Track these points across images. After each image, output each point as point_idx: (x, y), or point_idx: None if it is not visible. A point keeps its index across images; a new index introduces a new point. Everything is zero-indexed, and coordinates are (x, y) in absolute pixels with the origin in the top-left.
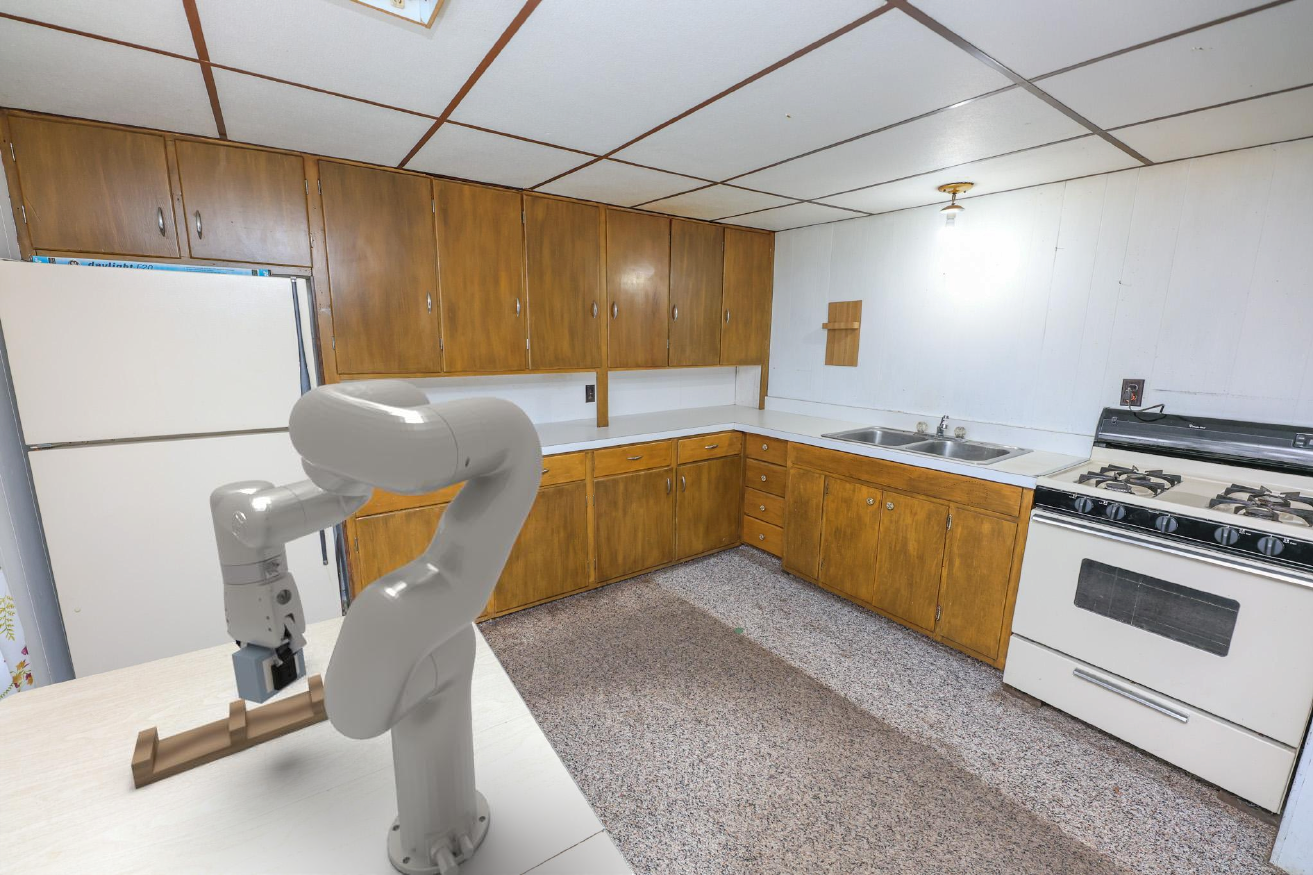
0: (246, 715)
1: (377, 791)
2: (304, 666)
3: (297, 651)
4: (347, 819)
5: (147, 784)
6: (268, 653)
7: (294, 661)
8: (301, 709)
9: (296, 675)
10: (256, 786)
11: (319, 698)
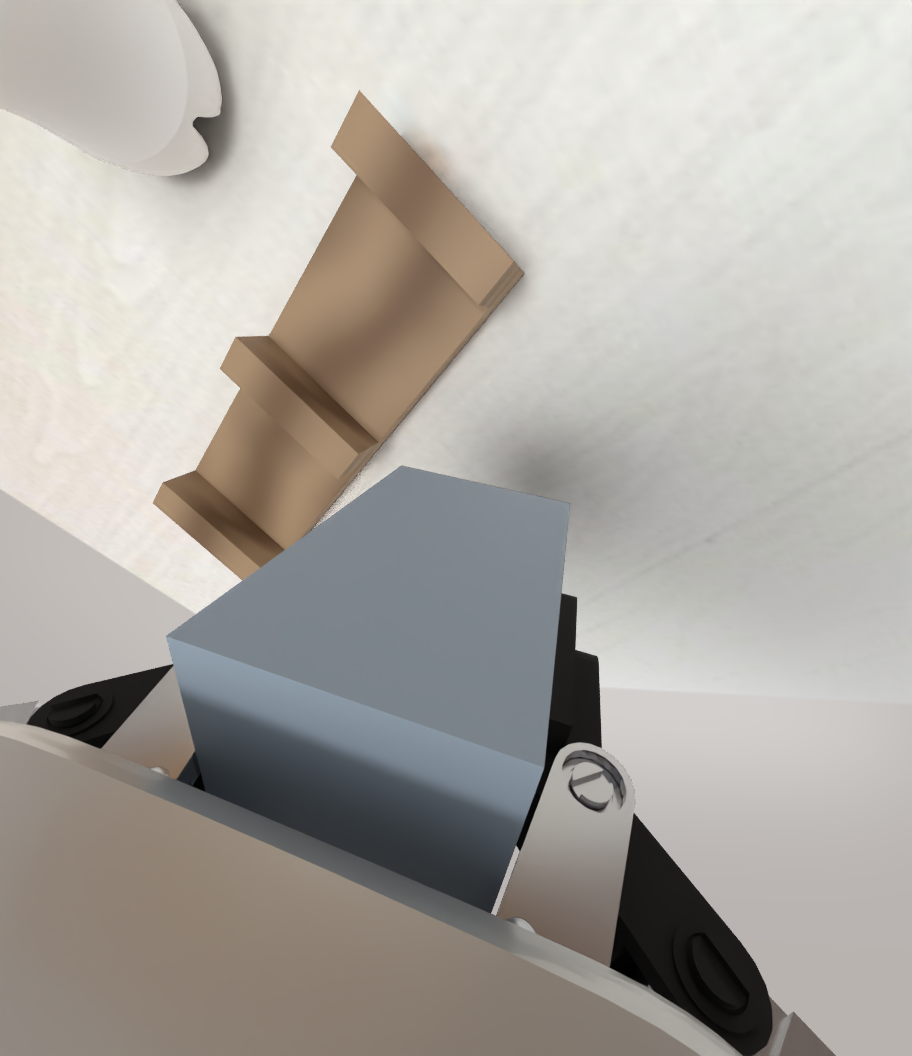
0: (289, 357)
1: (874, 537)
2: (565, 530)
3: (711, 918)
4: (815, 612)
5: None
6: None
7: (572, 679)
8: (421, 286)
9: (576, 608)
10: None
11: (488, 273)
